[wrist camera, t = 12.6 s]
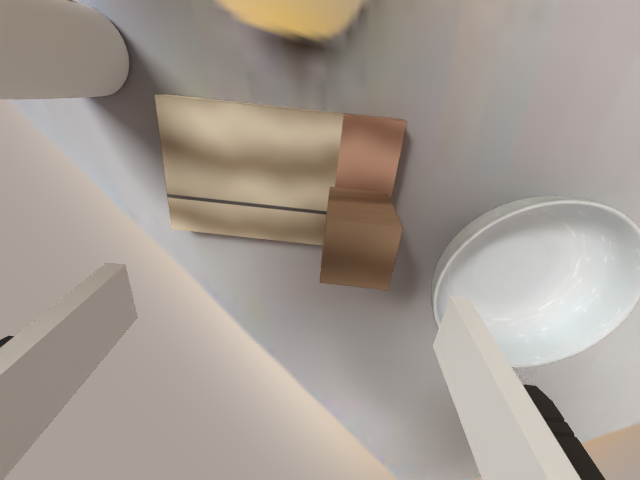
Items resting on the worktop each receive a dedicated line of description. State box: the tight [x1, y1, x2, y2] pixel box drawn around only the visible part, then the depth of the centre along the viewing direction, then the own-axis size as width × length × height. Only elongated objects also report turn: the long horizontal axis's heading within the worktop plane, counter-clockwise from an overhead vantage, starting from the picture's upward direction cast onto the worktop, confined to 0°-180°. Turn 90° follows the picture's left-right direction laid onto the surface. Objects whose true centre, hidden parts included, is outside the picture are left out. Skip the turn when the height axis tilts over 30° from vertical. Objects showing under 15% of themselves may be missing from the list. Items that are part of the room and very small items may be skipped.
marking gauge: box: [320, 186, 403, 290], centre depth 31 cm, size 8×6×11 cm
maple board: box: [155, 94, 407, 246], centre depth 34 cm, size 14×24×2 cm, turn 85°
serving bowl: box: [431, 196, 640, 368], centre depth 35 cm, size 21×21×7 cm
